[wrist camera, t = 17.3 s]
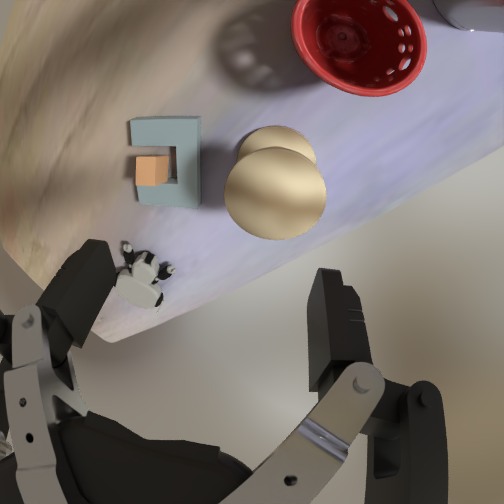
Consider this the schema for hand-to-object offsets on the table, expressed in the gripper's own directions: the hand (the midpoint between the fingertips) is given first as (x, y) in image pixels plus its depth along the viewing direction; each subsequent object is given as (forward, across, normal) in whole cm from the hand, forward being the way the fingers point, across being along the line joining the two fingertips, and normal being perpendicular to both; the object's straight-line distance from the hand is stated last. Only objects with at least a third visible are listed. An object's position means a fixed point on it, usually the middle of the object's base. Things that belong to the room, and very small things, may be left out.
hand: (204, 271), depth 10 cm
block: (+30, +14, +9) cm, 34 cm away
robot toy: (+30, +21, +33) cm, 49 cm away
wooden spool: (+30, -3, +7) cm, 31 cm away
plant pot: (+30, -9, -12) cm, 34 cm away
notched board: (+30, +13, +8) cm, 34 cm away
